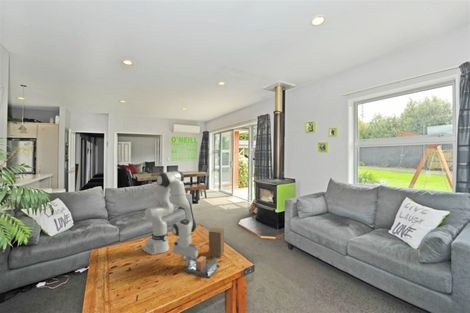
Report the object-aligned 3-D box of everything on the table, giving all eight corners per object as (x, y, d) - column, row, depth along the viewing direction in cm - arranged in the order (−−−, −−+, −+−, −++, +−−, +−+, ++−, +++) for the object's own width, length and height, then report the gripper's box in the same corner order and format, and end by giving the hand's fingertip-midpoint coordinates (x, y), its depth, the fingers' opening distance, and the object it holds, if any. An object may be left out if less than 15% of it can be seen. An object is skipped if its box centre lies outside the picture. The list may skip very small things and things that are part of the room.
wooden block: (220, 257, 161) (220, 232, 160) (208, 256, 163) (208, 231, 162) (224, 251, 171) (223, 227, 170) (212, 250, 173) (212, 227, 172)
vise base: (182, 270, 144) (182, 260, 143) (194, 260, 156) (193, 251, 156) (209, 278, 135) (209, 266, 135) (219, 267, 148) (219, 256, 148)
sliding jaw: (186, 268, 144) (186, 259, 144) (195, 260, 154) (195, 252, 154) (188, 268, 143) (188, 260, 143) (197, 260, 153) (197, 253, 153)
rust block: (195, 269, 143) (195, 260, 143) (201, 264, 150) (201, 256, 149) (200, 270, 142) (200, 261, 141) (206, 265, 148) (206, 257, 148)
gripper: (199, 243, 149) (199, 261, 150) (177, 238, 157) (177, 256, 158) (194, 246, 144) (194, 266, 144) (171, 242, 152) (171, 260, 152)
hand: (185, 261), depth 151 cm, fingers closed
